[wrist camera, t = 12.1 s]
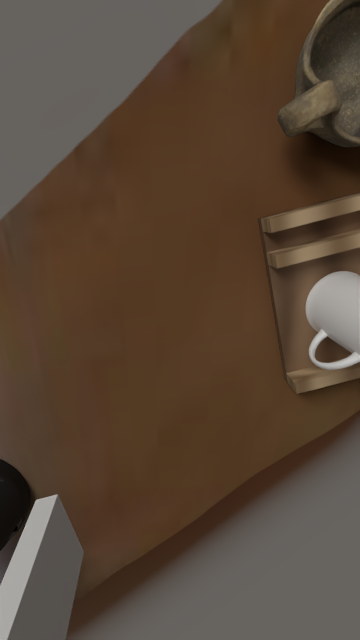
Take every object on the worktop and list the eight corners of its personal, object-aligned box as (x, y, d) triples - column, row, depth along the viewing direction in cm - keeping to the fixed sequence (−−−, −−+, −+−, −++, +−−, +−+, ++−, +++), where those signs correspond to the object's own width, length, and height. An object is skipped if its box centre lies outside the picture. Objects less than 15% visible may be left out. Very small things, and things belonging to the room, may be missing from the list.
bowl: (421, 111, 38) (510, 76, 29) (284, 194, 40) (325, 187, 30) (380, -23, 34) (468, -116, 25) (230, 75, 36) (258, 24, 26)
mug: (303, 361, 45) (354, 411, 33) (271, 312, 42) (314, 347, 31) (380, 310, 43) (461, 344, 32) (352, 256, 41) (428, 272, 30)
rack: (284, 378, 47) (296, 394, 43) (257, 218, 40) (269, 219, 36) (381, 353, 47) (403, 366, 43) (371, 189, 40) (395, 186, 36)
